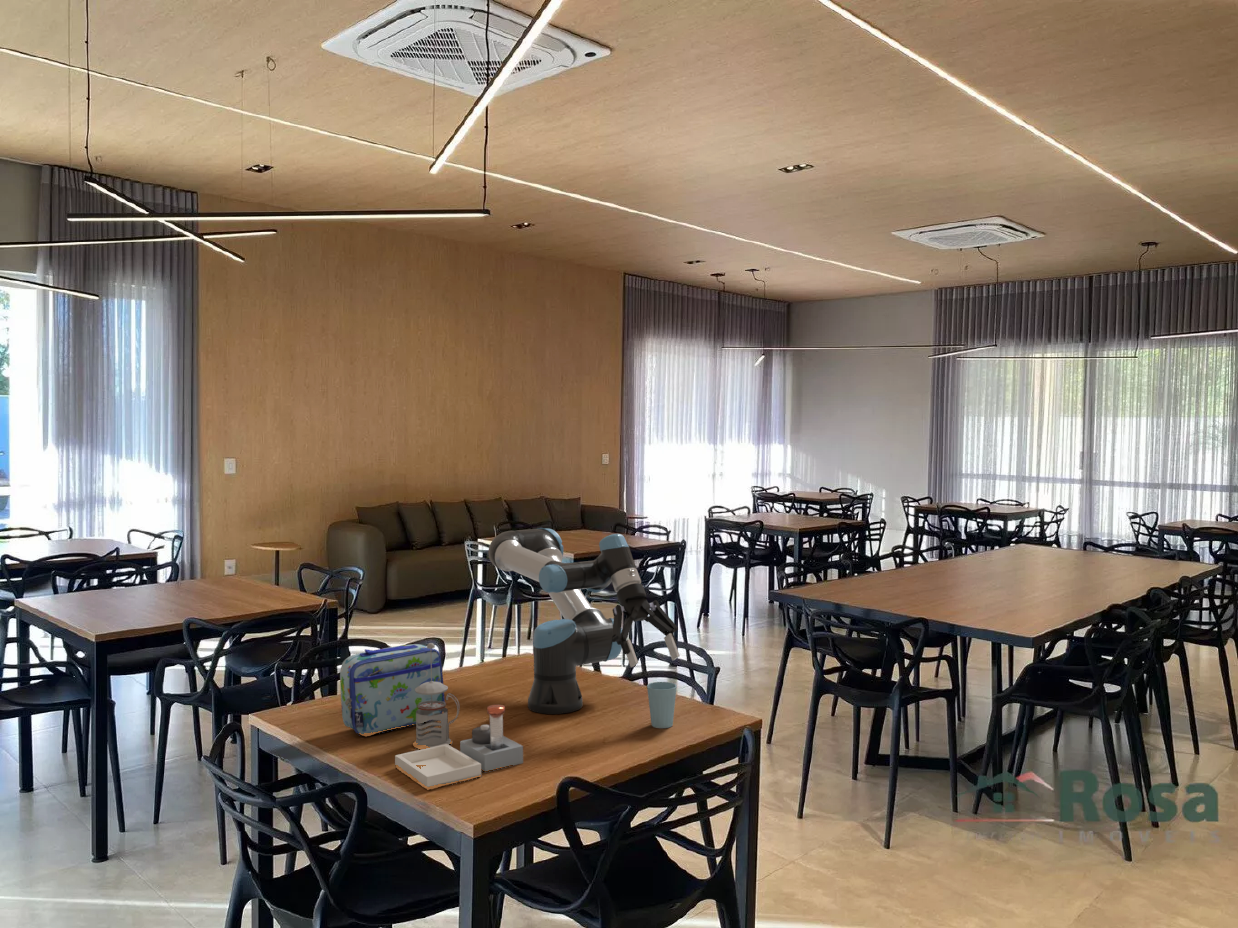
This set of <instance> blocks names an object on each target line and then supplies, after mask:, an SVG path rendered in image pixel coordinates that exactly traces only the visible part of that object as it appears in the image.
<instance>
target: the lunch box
mask: <svg viewBox="0 0 1238 928" xmlns="http://www.w3.org/2000/svg"><path fill="white" fill-rule="evenodd" d="M431 657H432V681H433V682H440V683H442V684H444V676H443V669H442V667H443V666H442V660H441V659H442V658H441V654H440V651H438V650H437V649H436V648H432V649H429V648H427V645H424V644H418V643H415V644H414V643H413V644H403V645H397V646H391V647H383V648H378V649H374V650H371V649H365V648H364V652H359V653H356V654H355V653H354V654H352V655H350V656H348V657H347V658H345V659H344V660H343V661H342V664H341V666H340V671H339V673H340V674H339V679H340V681H339V682H340V685H339V686H340V704H341V705H340V706H341V717H342V720H343V721H342V722H343V724H344V726H346V727H347V728H349V727H350V729H351V728H352V729H351V730H354V732H355V734H357V733H358V734H359V733H361V734H364V733H371V732H372V733H373V732H378V731H383V730H387V729H391V728H395V727H401V726H407V725H412V724H416V711H417V710H418V709H419V708H418V707H417V705H418V704H419V703H422V702H427V701H431V695H422V694H418V693H416V692H415V688H417V687H418V686H420V685H421V684H423V683H425V682H430V681H431ZM435 700H436V701H444V702H445V703H446V701H445V700H446V697H445V692H444V693H440V694H435V695H432V701H435ZM436 713H441V714H443V712H442V711H440V710H439V711H434V712H432V713H431V714H429V715H426V716H432V715H434V714H436ZM430 721H432V720H429V721H426V723H428V722H430ZM358 734H357V735H358Z"/></svg>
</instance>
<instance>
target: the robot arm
mask: <svg viewBox="0 0 1238 928" xmlns="http://www.w3.org/2000/svg"><path fill="white" fill-rule="evenodd" d="M562 543H563V540H562V538H561V536H560V535H559V533H557V532H556V531H555V529H552V528H549V527H548V528H543V527H538V528H532V529H519V530H508V531H504V532H501V533H499V534H498V535H496V536H495V537H494V538H493V539H492V540H491V542H490V543H489V546H488V558H489V561H490V563H492V565H493V566H494V567H496V568H497V569H499V570H502V571H504V572H515V573H517V574H519V575H522V576H524V577H527V578H528V579H531V580H533V581H535V582H538V583H539V586H540V588H542V591H544V592H545V593H547V594H548V595H549V596H550V598H551V600H552V601H553V603H554V604H555V606H556V608H557V609H558V611H559V612H560V614H561V616H562V617H563V618H560V619H552V620H548V621H545V622H542V623H540V624H539V625H537V627H535V629H534V631H533V639H532V646H533V682H532V685H531V687H530V693H529V695H528V698H527V707H528V709H529V710H530V711H532V712H535V713H538V714H546V715H548V714H549V715H559V714H560V715H561V714H568V713H573V712H576V711H578V710H580V709H582V707H583V700H584V699H583V696H582V692H581V690H580V687H579V683H578V681H577V667H579V666H584V665H589V664H595V663H601V662H608V661H611V660H614V659H617V658H618V657H619V656H620V654H621V653H622V652H623V655H626V657H627V662H628V663H629V667H630V668H633V667H635V666H636V665H638V664H639V661H638V658H637V656H636V653H635V649H634V646H633V644H632V641H631V639H628V636H629V633H630V632H631V628H632V625H633V623H634V622H635V623H636V622H638V621H639V622H643V621H645V622H646V623H649V624H650V625H652V626H653V627H654V628H656V629H657V630H658V631H660V633H662V634H663V635H664V637H663V639H664V641H665V644H666V647H667V649H668V653H669V655H670V658H671V661H675V660H677V659H678V658H679V657H680V656H681V655H680V652H679V650H678V647H677V645H678V642H677V640H676V637H675V634H674V633H675V632H676V631H678V630H679V627H678V626H677V624H676V623H674V621H673V620H672V619H671V618H670V616H668V614H667V613H666V612H665V610H663V609H662V607H661V605H660V602H658V600H656V599H655V600H654V601H652V602H648V600H647V593H646V591H645V590H646V589H645V588H644V585H643V584H642V579H641V577H640V574H639V572H638V569H637V567H636V563H635V561H634V558H633V555H632V552H631V550H630V546H629V545H628V542H627V540H626V538H625V536H624V535H623V534H621V533H612V534H610V535H607V536H605V537H603V538H602V539H600V541H599V543H598V546H599V551H600V554H599V555H598V556H597V557H596V558H595V559H594V560H588V561H576V562H565V563H564V562H563V556H564V545H563V544H562ZM611 584H612V586H613V587H612V588H613V590H614V592H615V593H616V597H617V599H618V602H619V604H617V605H616V606H615V607H613V608H612V610H611V611H612V614H613V615H612V616H613V618H612V617H610V618H607V617H605V615H604V613H603V612H602V611H601V610H600V609H599V608H595V607H593V606H592V604H591V603H590V602H589V601H588V599H587V598H586V596H585V595H584V593H583V592H582V590H585V589H586V590H587V591H588V592H592V593H594V594H595V593H596V594H597V593H600V592H602V591H604V590H605V589H606V588H608V587H609V586H610V585H611ZM623 614H624V615H625V616H626V617H625V619H624V624H623V626H622V622H623Z"/></svg>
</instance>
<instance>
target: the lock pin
mask: <svg viewBox="0 0 1238 928" xmlns="http://www.w3.org/2000/svg"><path fill="white" fill-rule="evenodd" d="M486 712H487V714H488V715H489V726H490V750H492V751H495V750H499V749H503V736H504V719H503V717H504V714H505V713H506V706H505V705H503V704H491V705H488V706H487V711H486Z"/></svg>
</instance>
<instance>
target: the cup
mask: <svg viewBox="0 0 1238 928" xmlns="http://www.w3.org/2000/svg"><path fill="white" fill-rule="evenodd" d="M646 688H647V689H646V690H647V696H648V705H649V706H648V707H649V715H650V716H649V717H650V721H651V722H650V724H651V727H653V728H656V729H668V728H672V727H673V724H674V716H675V708H676V707H675V705H676V697H677V696H676V695H677V688H678V687H677V684H676V683H673V682H668V681H655V682H654V681H653V682H650V683H648V684H647V685H646Z"/></svg>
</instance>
